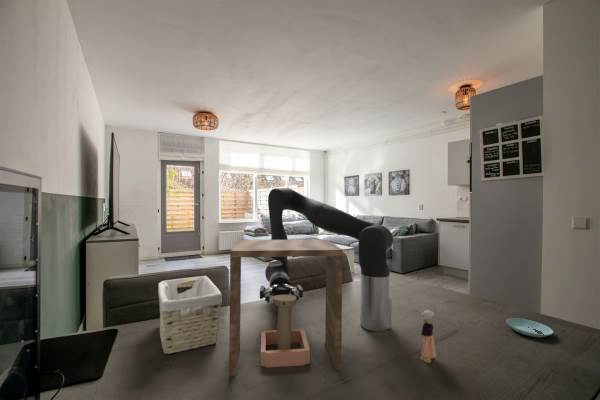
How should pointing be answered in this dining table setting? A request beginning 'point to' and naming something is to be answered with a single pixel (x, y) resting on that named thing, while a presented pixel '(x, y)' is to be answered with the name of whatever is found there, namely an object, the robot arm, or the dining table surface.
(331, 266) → the wooden footstool
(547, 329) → the saucer
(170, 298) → the storage basket
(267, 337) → the socket
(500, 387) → the dining table surface
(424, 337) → the grandmother figurine
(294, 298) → the handle
